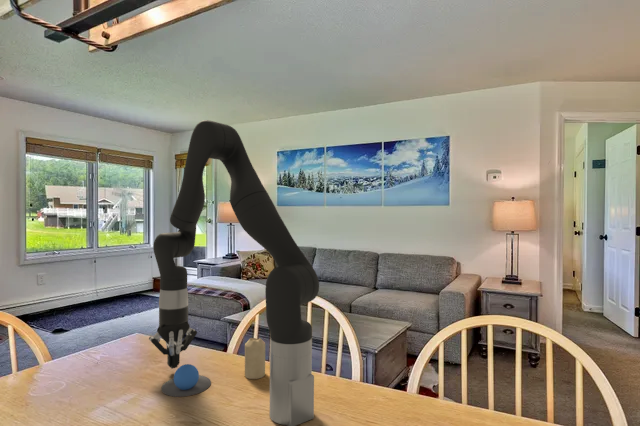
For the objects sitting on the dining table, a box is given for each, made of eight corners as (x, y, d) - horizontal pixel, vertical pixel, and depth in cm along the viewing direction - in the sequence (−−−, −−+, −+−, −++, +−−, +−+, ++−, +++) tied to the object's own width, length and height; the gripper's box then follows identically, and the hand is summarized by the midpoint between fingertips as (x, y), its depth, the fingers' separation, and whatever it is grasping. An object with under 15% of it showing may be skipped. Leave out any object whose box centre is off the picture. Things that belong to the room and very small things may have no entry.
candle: (267, 371, 111) (267, 335, 110) (262, 379, 105) (262, 342, 105) (247, 370, 111) (248, 335, 111) (242, 378, 106) (242, 341, 105)
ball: (201, 365, 99) (195, 360, 104) (177, 369, 96) (171, 364, 101) (201, 390, 98) (195, 383, 103) (176, 395, 95) (171, 388, 100)
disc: (218, 387, 100) (218, 386, 100) (170, 401, 93) (170, 400, 93) (200, 371, 110) (200, 371, 110) (155, 383, 102) (155, 382, 102)
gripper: (152, 311, 102) (152, 378, 102) (202, 303, 110) (202, 365, 110) (144, 305, 108) (144, 368, 108) (192, 298, 116) (192, 357, 116)
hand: (173, 367), depth 109 cm, fingers closed
